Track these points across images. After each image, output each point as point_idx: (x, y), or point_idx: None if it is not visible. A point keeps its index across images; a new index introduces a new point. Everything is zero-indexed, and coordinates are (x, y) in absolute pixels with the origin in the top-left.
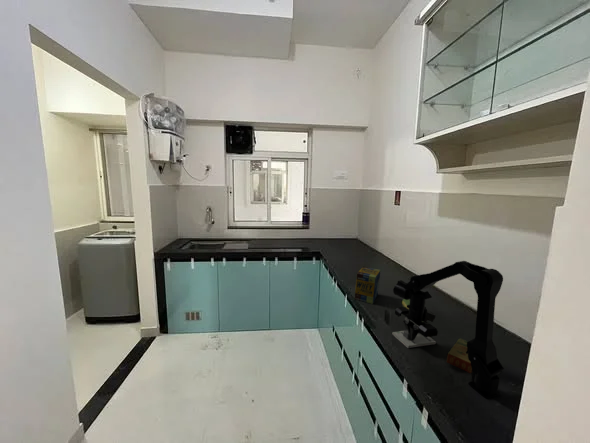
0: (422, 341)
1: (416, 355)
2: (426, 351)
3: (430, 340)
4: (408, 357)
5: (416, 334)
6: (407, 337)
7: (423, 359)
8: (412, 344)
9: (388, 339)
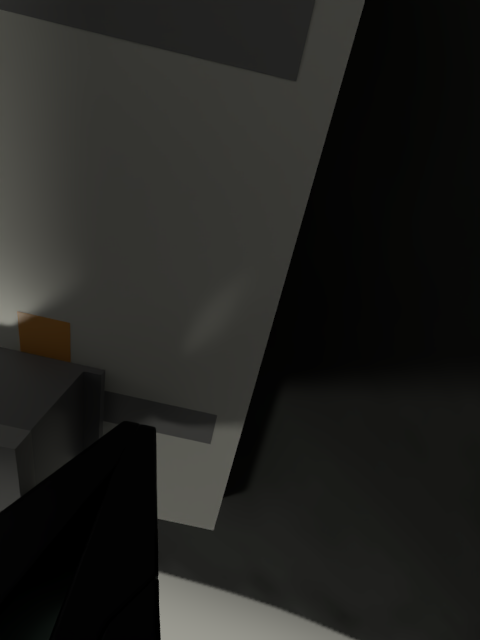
0: (219, 262)
1: (355, 523)
2: (389, 372)
3: (277, 6)
4: (327, 589)
5: (153, 584)
6: None
7: (443, 521)
8: (214, 473)
9: None
